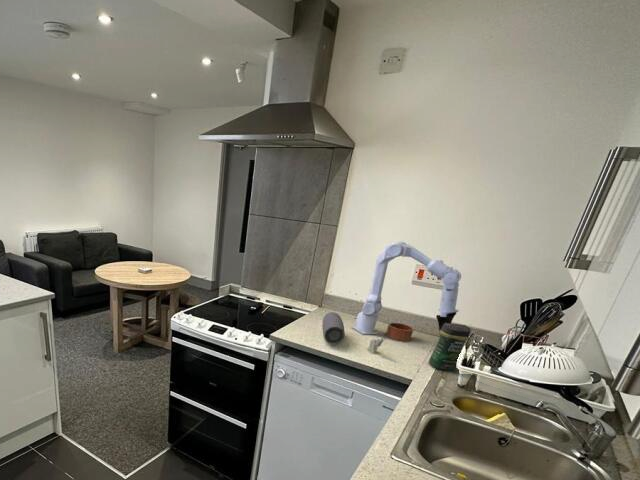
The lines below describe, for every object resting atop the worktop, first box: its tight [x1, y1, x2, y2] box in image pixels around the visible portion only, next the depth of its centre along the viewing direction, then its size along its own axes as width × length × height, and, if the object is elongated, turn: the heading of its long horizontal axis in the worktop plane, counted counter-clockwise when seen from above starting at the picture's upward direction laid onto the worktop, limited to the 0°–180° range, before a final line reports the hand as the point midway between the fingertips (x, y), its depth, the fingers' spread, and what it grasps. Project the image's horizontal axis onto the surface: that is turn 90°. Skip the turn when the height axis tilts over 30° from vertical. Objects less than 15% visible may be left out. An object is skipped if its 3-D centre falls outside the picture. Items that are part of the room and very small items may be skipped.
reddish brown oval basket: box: [385, 322, 415, 342], centre depth 190 cm, size 14×11×6 cm
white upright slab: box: [368, 336, 384, 354], centre depth 167 cm, size 7×2×8 cm, turn 0°
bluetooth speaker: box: [321, 311, 346, 345], centre depth 179 cm, size 23×9×10 cm, turn 164°
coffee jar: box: [428, 322, 472, 372], centre depth 156 cm, size 10×8×19 cm
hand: (444, 329), depth 171 cm, fingers open, 7 cm apart
